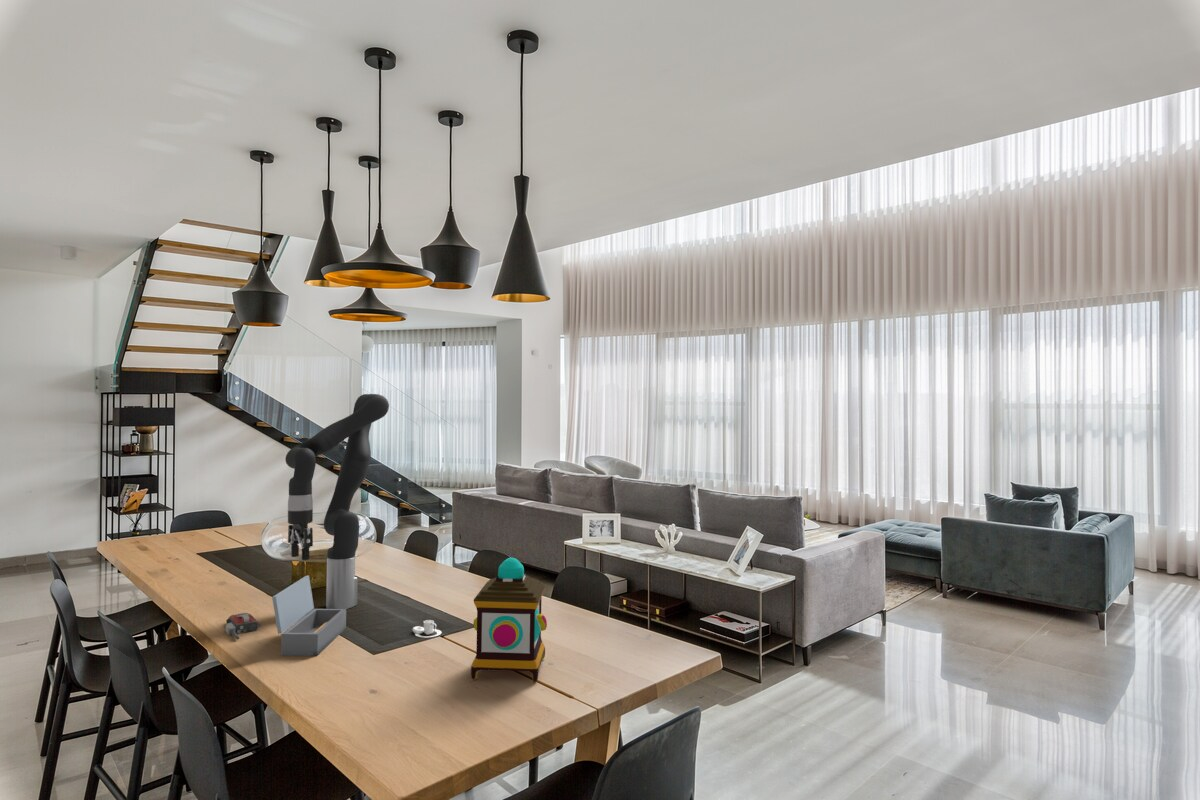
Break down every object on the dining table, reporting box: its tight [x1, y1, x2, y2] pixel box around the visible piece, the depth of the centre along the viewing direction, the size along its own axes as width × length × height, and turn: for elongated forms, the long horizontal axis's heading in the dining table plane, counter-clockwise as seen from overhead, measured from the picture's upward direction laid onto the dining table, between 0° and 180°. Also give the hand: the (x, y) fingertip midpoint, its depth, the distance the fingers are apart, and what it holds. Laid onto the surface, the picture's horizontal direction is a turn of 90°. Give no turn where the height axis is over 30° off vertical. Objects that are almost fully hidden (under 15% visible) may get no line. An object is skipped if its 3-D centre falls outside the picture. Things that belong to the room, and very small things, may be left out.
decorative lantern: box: [470, 557, 548, 683], centre depth 188 cm, size 20×20×30 cm
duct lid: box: [271, 575, 315, 635], centre depth 207 cm, size 10×24×1 cm
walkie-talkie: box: [225, 612, 260, 640], centre depth 215 cm, size 9×4×20 cm
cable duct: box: [280, 608, 347, 657], centre depth 207 cm, size 10×24×6 cm, turn 2°
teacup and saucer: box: [412, 619, 443, 639], centre depth 216 cm, size 9×8×4 cm
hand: (300, 558), depth 229 cm, fingers open, 8 cm apart
